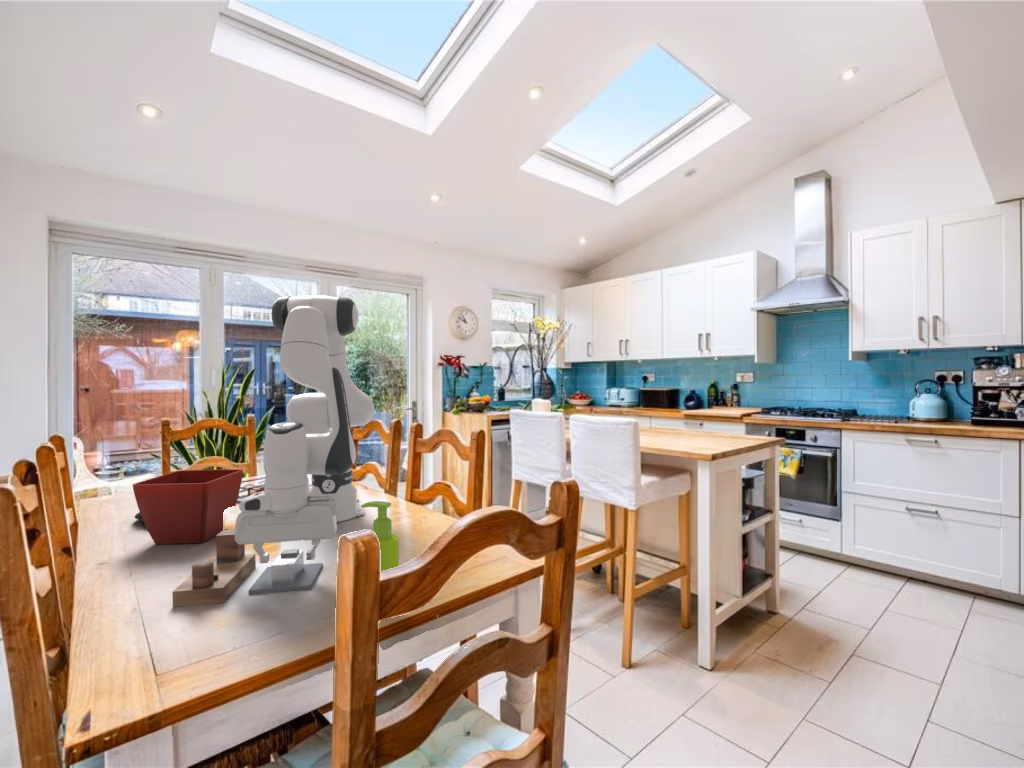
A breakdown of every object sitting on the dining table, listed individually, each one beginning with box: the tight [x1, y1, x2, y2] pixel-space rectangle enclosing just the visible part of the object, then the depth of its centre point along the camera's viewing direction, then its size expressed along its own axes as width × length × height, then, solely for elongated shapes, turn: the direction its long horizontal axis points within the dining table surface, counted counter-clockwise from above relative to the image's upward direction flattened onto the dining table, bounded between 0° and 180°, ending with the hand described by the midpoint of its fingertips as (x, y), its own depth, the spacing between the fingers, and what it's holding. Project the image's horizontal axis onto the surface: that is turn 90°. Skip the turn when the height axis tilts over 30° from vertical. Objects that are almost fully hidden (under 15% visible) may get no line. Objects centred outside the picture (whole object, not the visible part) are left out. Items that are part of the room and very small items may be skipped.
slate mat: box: [248, 562, 324, 595], centre depth 104 cm, size 12×12×1 cm
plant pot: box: [132, 468, 244, 545], centre depth 133 cm, size 19×19×17 cm
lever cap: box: [270, 548, 305, 584], centre depth 104 cm, size 8×4×5 cm, turn 10°
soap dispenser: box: [361, 500, 400, 571], centre depth 92 cm, size 6×7×20 cm
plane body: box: [172, 528, 257, 608], centre depth 102 cm, size 18×9×9 cm, turn 10°
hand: (287, 560), depth 104 cm, fingers open, 8 cm apart
